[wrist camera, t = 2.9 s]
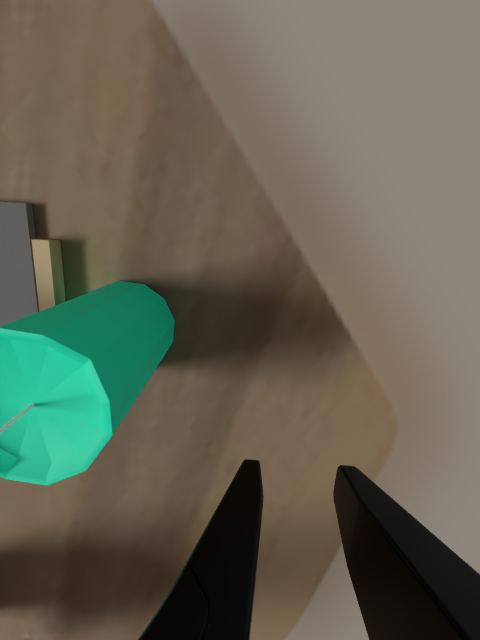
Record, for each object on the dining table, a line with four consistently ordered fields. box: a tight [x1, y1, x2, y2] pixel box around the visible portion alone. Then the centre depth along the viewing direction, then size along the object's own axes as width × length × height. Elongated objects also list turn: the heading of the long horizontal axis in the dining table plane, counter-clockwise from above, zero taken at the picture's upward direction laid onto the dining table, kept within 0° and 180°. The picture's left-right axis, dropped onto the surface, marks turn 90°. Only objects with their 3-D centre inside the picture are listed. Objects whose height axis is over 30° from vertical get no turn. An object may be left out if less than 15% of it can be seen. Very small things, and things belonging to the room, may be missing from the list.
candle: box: [0, 281, 175, 485], centre depth 15 cm, size 6×6×12 cm
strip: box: [31, 239, 66, 312], centre depth 20 cm, size 10×1×1 cm, turn 177°
